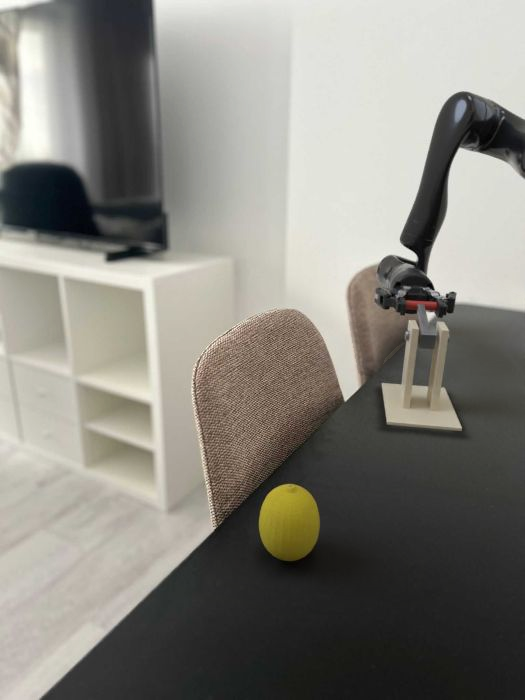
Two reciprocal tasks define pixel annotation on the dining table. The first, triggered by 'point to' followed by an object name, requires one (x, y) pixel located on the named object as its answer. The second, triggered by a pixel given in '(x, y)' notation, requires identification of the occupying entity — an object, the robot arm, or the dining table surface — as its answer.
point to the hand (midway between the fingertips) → (422, 310)
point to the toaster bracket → (421, 388)
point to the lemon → (289, 522)
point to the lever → (424, 323)
